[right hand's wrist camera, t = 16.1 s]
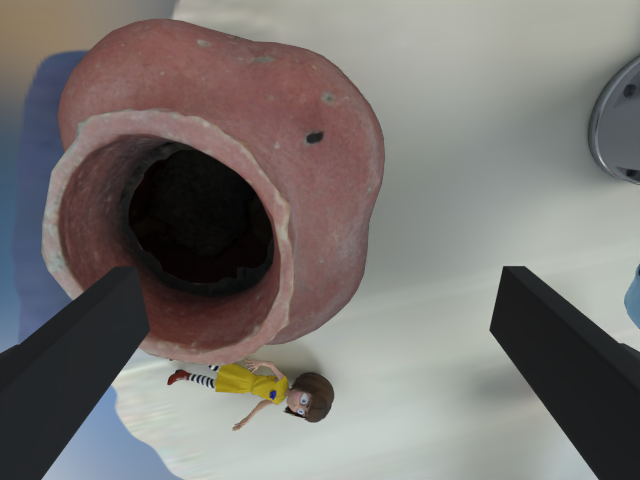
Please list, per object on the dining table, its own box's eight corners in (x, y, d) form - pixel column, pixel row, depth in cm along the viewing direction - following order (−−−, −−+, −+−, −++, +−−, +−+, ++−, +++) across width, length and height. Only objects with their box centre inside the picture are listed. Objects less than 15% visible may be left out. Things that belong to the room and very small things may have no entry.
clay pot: (84, 71, 40) (-251, 33, 16) (347, 9, 37) (392, -138, 14) (177, 299, 51) (57, 468, 28) (384, 262, 48) (444, 411, 25)
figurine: (164, 342, 48) (341, 391, 47) (190, 313, 55) (344, 355, 54) (159, 412, 53) (319, 457, 52) (183, 377, 60) (325, 416, 59)
